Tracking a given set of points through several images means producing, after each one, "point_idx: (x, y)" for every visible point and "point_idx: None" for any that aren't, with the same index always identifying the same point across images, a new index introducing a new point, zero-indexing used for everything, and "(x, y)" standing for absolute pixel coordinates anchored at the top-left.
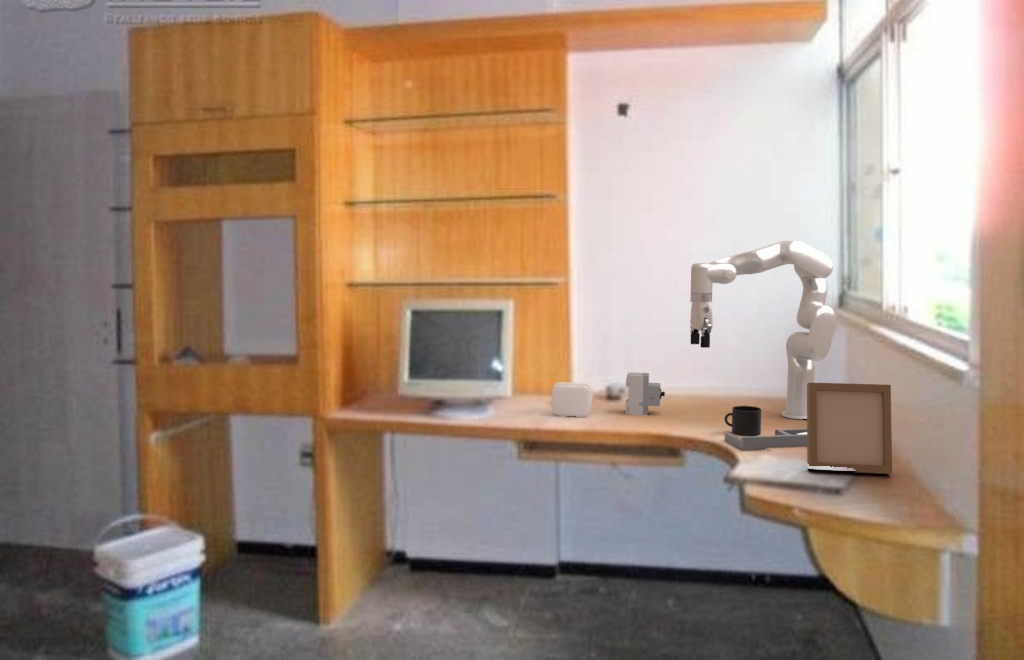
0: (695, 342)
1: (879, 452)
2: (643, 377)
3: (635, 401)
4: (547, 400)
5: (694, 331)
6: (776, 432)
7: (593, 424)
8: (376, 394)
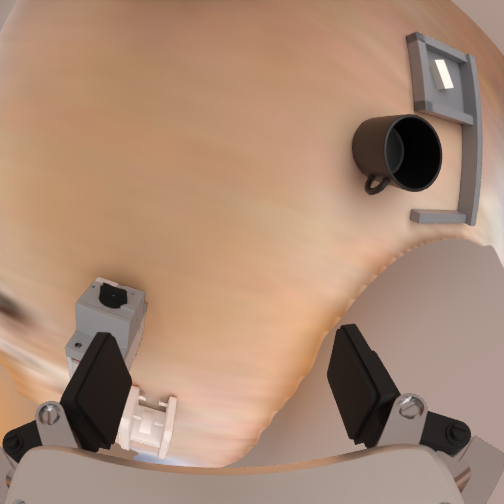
0: (120, 368)
1: None
2: None
3: (136, 343)
4: (58, 395)
5: (88, 447)
6: (427, 111)
7: (231, 396)
8: None
